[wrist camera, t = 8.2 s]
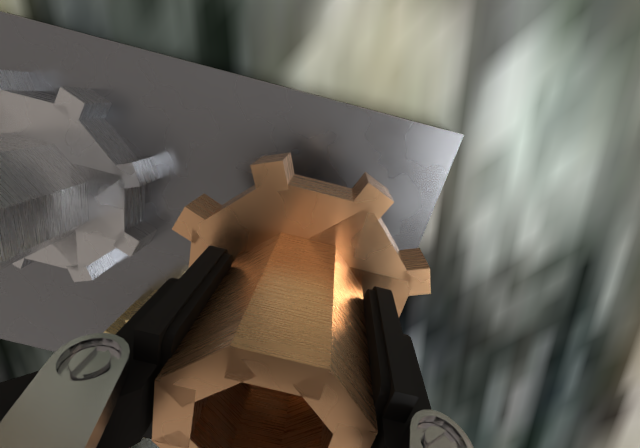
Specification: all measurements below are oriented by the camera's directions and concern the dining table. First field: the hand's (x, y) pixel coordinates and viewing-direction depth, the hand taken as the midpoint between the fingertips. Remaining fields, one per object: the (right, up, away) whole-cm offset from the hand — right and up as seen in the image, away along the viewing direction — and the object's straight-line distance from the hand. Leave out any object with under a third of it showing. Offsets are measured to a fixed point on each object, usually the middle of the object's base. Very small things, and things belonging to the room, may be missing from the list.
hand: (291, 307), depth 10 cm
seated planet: (-11, +5, +5) cm, 13 cm away
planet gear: (0, +1, +2) cm, 2 cm away
